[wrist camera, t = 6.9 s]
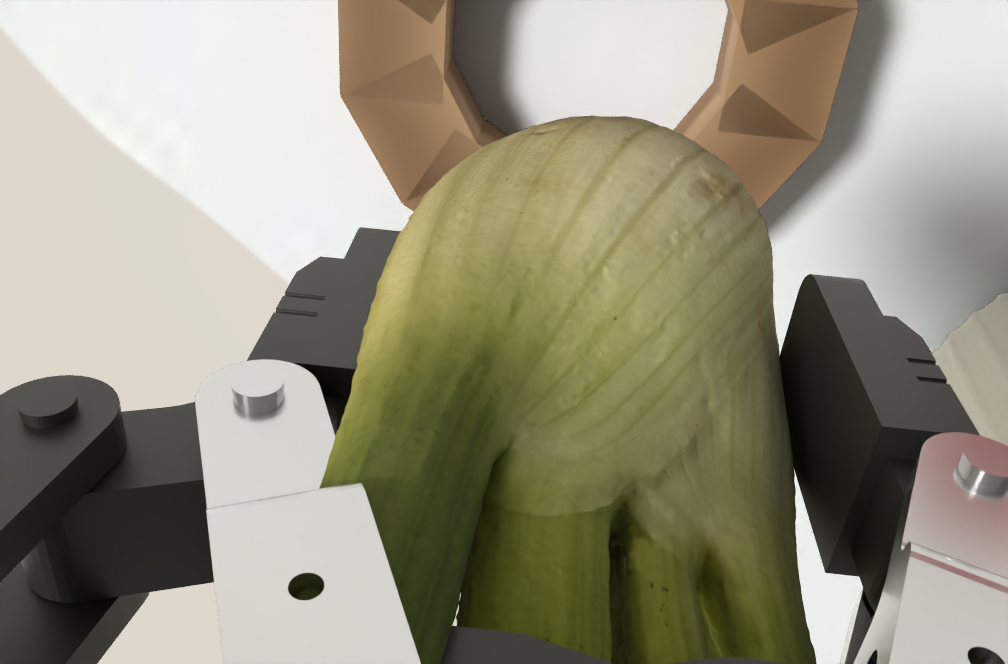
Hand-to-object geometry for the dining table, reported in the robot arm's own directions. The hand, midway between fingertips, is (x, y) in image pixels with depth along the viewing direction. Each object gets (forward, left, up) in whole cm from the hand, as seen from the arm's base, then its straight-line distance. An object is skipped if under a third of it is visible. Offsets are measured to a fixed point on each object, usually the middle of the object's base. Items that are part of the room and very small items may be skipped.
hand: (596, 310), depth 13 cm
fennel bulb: (0, 0, -3) cm, 3 cm away
